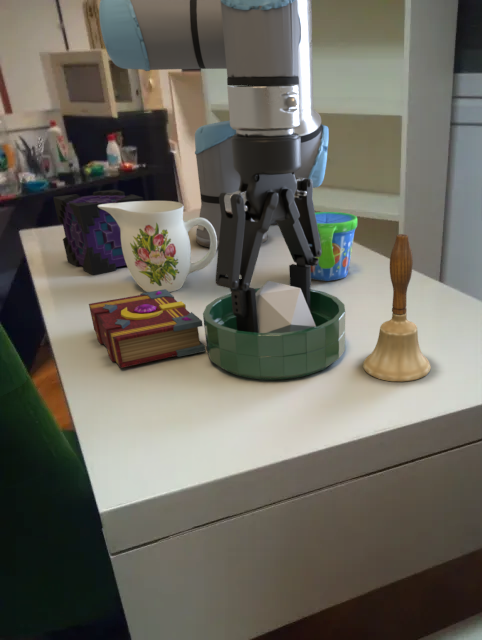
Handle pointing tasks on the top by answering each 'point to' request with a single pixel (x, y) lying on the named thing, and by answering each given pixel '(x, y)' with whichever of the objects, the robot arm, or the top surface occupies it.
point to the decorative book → (146, 328)
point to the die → (282, 309)
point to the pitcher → (158, 242)
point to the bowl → (276, 341)
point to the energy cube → (92, 230)
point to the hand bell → (398, 327)
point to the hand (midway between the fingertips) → (275, 326)
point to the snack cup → (334, 245)
